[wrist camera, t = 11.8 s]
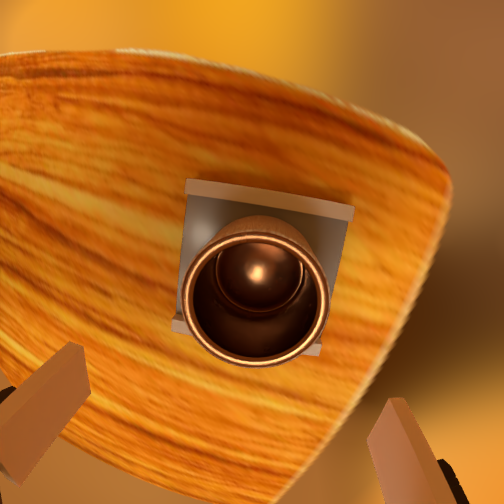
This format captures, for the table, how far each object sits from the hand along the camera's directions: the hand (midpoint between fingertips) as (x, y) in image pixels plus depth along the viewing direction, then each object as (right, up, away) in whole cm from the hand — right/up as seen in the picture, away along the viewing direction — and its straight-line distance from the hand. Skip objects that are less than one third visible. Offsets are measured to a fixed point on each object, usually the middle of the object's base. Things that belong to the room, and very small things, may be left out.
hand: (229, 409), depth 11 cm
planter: (+2, +5, +19) cm, 20 cm away
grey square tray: (+2, +5, +21) cm, 22 cm away
